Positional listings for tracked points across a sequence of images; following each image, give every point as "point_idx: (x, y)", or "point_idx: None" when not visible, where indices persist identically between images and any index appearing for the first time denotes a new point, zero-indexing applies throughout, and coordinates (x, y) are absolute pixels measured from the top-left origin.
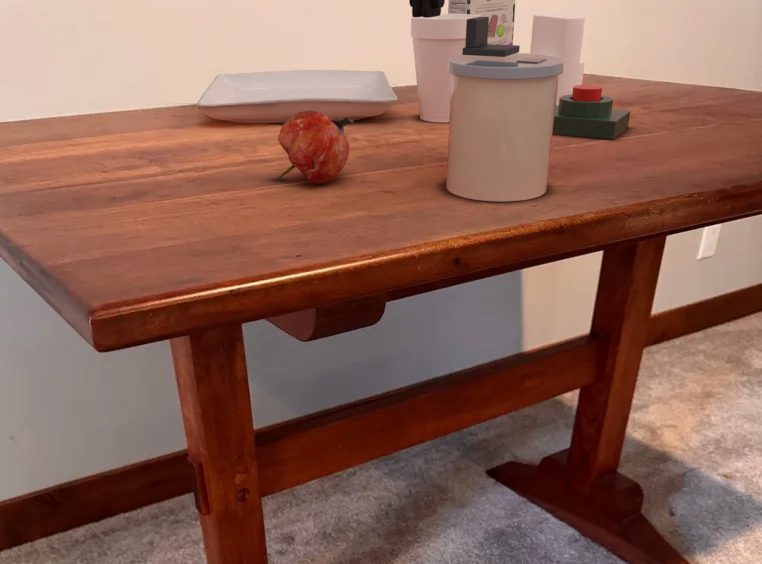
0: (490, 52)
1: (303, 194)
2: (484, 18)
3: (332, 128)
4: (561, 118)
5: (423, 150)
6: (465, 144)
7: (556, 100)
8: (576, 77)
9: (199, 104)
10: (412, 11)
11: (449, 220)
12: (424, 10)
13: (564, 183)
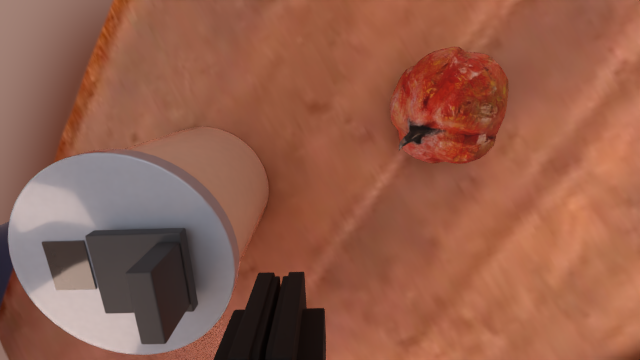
0: (119, 231)
1: (412, 39)
2: (136, 319)
3: (415, 105)
4: None
5: (375, 311)
6: (197, 140)
7: None
8: None
9: None
10: (301, 275)
11: (185, 29)
12: (264, 278)
13: None
